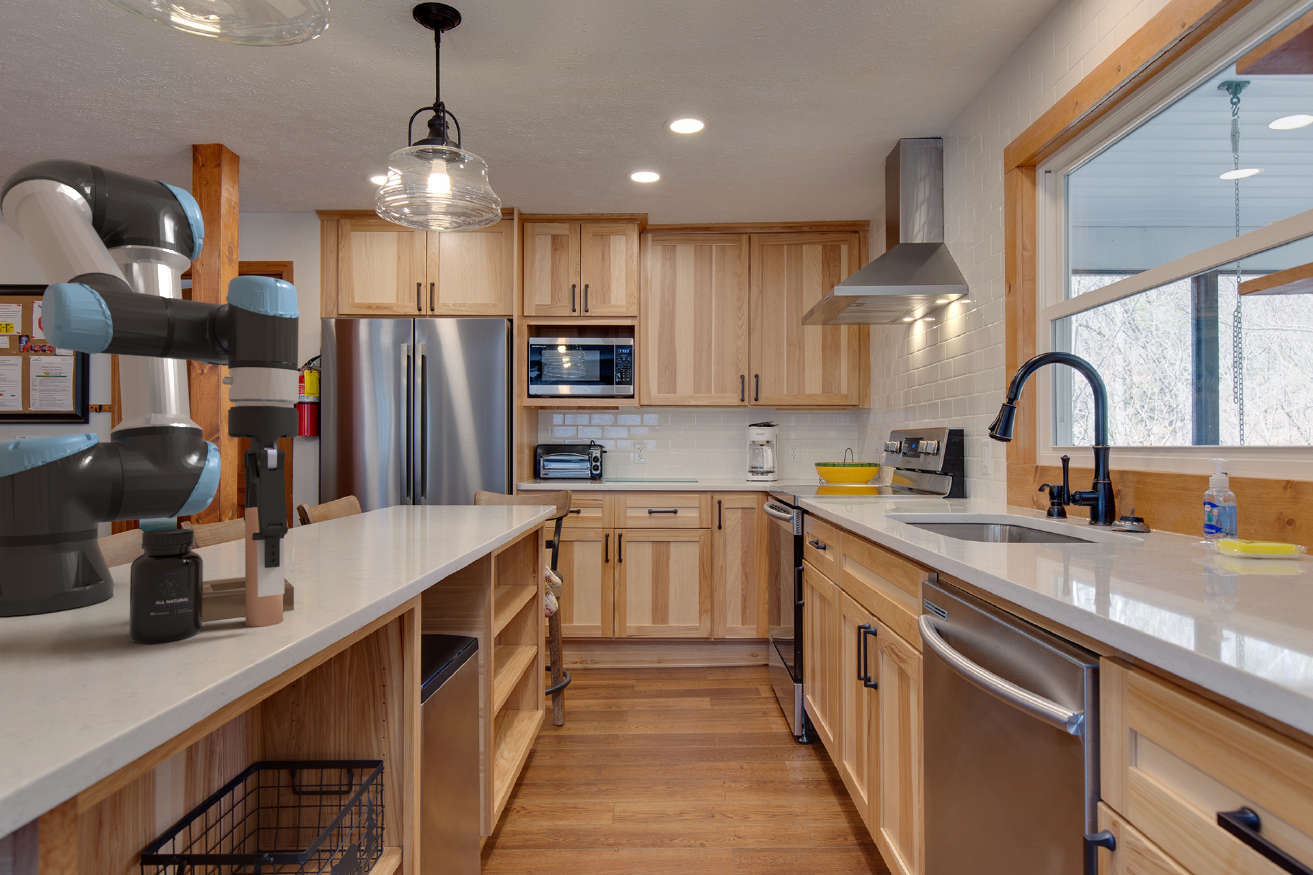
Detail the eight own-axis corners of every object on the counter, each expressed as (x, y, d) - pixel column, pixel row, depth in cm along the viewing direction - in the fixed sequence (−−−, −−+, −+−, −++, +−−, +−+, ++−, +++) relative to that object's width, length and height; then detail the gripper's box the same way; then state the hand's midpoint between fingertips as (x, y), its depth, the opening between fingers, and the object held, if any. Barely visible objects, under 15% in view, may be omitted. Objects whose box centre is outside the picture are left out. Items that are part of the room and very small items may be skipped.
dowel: (243, 621, 86) (243, 507, 86) (280, 616, 88) (279, 505, 88) (247, 628, 83) (247, 510, 83) (285, 623, 85) (285, 507, 85)
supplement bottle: (165, 646, 76) (165, 535, 76) (113, 643, 77) (113, 534, 77) (217, 629, 82) (217, 527, 82) (168, 626, 84) (168, 526, 84)
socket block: (179, 605, 95) (179, 583, 95) (279, 593, 102) (279, 573, 102) (183, 624, 85) (183, 599, 85) (293, 609, 92) (293, 586, 92)
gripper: (219, 408, 93) (220, 576, 92) (238, 399, 74) (238, 609, 74) (283, 410, 97) (283, 570, 97) (315, 401, 79) (316, 599, 79)
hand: (264, 587), depth 86 cm, fingers open, 10 cm apart
